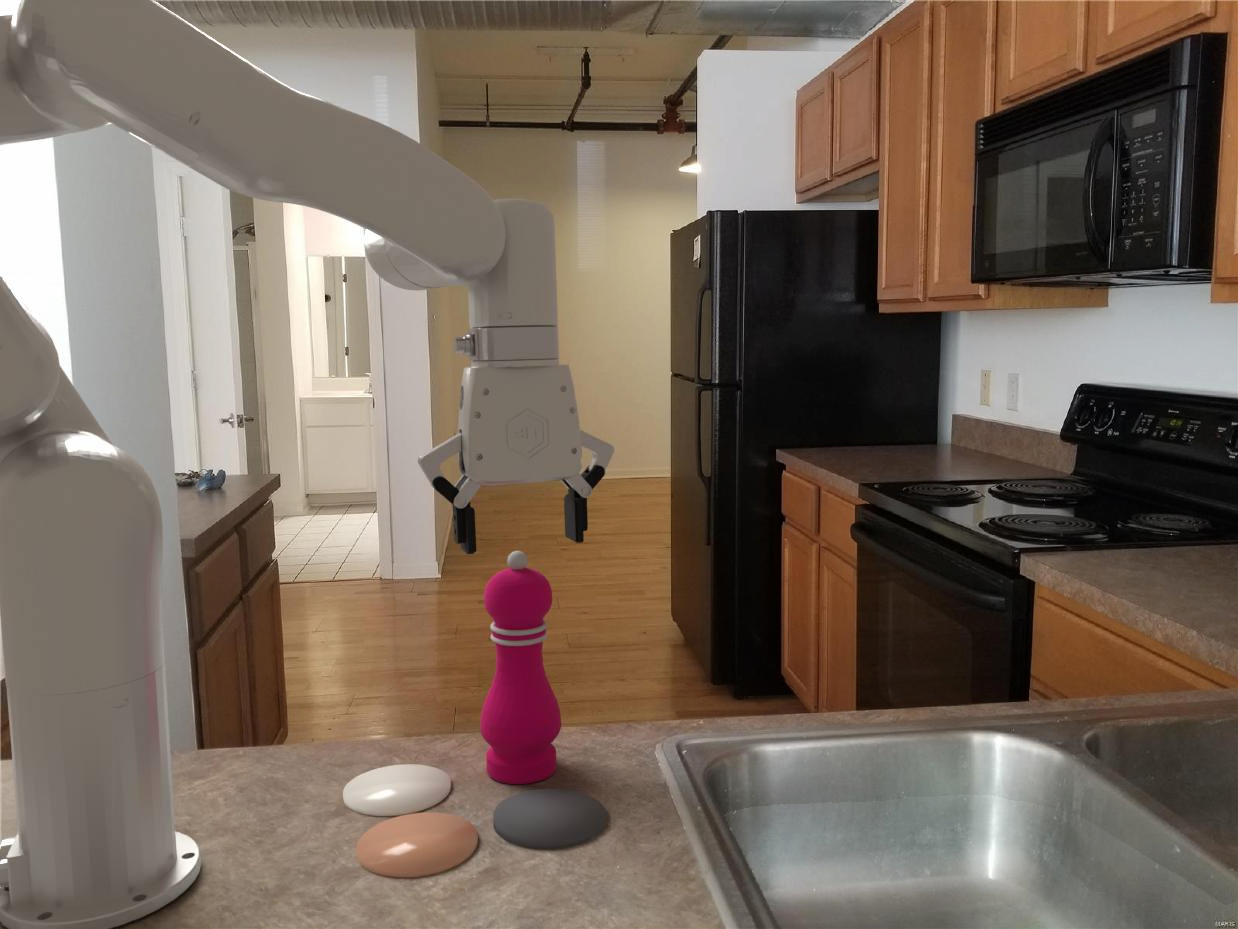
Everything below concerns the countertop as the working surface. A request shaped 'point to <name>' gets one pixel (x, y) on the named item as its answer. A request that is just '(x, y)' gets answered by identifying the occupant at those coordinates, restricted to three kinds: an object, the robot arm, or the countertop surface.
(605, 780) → the countertop surface
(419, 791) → the cream oval dome
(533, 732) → the pepper mill
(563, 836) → the dark gray oval dome
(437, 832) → the peach oval dome
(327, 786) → the countertop surface
